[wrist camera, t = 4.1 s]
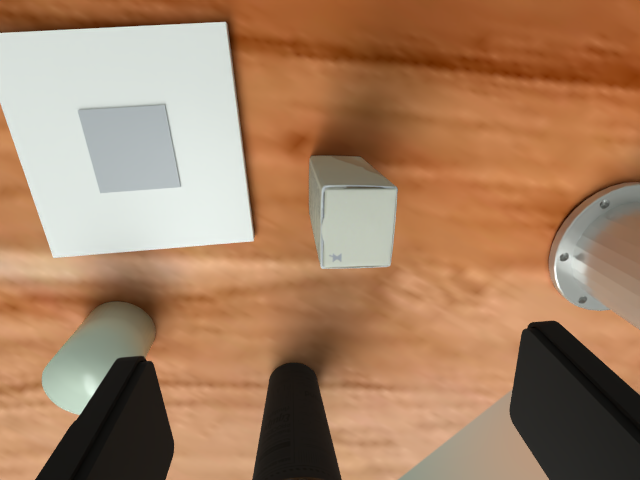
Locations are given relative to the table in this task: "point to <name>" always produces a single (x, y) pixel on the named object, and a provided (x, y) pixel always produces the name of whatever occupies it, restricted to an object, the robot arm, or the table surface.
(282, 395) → the drinking cup
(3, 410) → the table surface
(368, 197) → the box
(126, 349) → the pale green capsule
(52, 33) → the white square plate
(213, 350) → the table surface
